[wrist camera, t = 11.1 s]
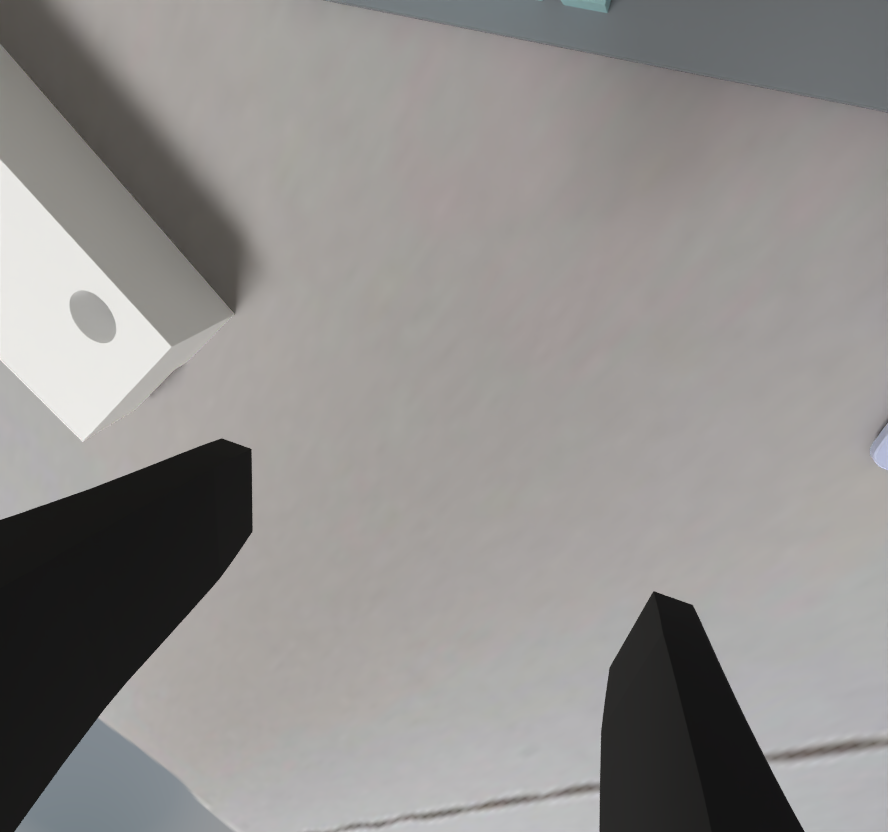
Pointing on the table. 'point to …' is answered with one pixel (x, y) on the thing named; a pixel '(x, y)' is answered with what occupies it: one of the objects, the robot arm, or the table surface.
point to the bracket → (86, 272)
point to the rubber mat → (701, 37)
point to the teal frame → (588, 4)
